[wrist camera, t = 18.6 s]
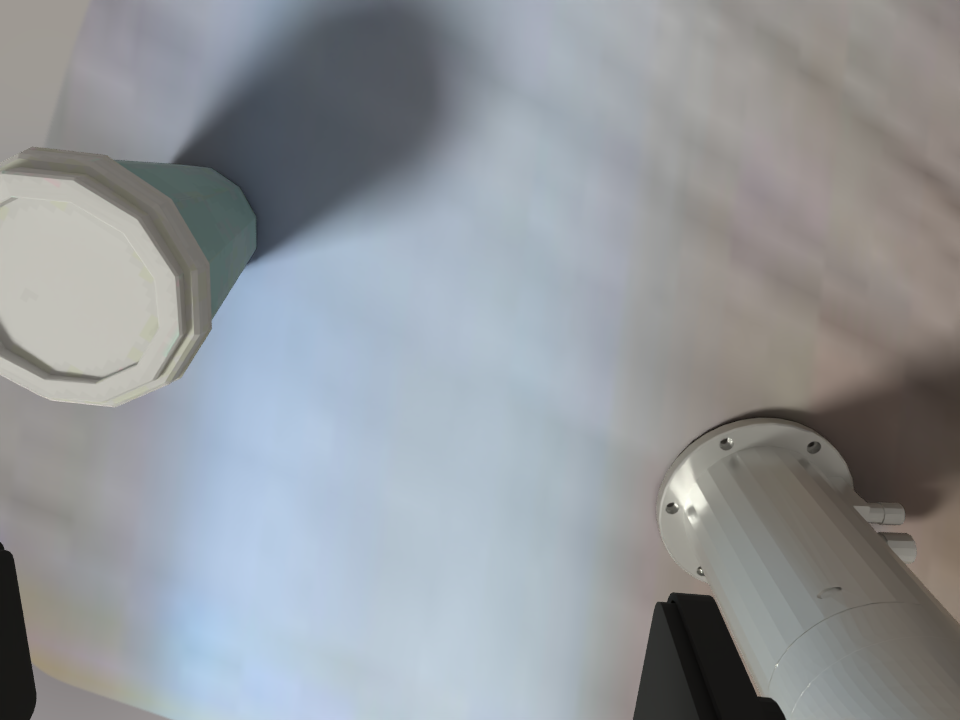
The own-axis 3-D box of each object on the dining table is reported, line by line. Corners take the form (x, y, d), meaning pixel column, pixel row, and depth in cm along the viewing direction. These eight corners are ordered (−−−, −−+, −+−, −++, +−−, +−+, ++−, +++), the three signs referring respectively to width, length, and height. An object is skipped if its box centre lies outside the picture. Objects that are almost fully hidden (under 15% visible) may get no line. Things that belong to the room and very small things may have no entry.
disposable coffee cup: (331, 240, 41) (254, 318, 27) (201, 350, 44) (69, 474, 30) (195, 87, 38) (30, 86, 24) (64, 214, 41) (-154, 279, 27)
